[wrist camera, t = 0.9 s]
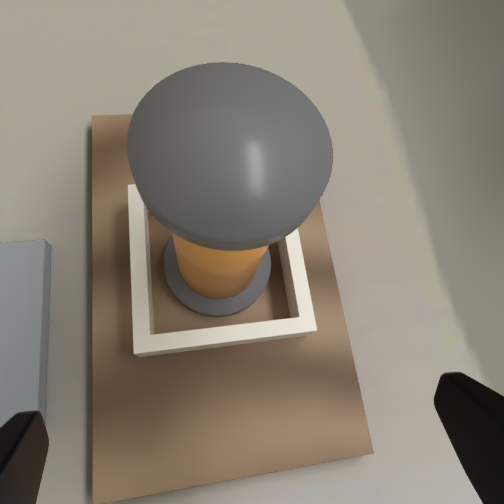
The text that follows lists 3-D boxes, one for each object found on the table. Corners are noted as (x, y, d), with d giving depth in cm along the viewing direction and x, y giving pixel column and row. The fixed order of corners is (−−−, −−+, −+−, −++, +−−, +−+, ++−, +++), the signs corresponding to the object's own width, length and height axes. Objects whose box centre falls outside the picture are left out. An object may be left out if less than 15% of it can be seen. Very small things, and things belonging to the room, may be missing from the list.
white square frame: (307, 335, 22) (317, 330, 20) (140, 357, 20) (133, 353, 18) (281, 191, 25) (287, 175, 23) (133, 201, 23) (127, 184, 21)
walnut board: (365, 450, 21) (373, 453, 20) (98, 499, 19) (92, 505, 18) (296, 119, 28) (299, 109, 27) (95, 125, 26) (92, 115, 25)
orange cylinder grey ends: (288, 269, 23) (372, 153, 12) (215, 340, 21) (229, 283, 10) (219, 201, 24) (235, 33, 13) (143, 263, 22) (81, 131, 11)
